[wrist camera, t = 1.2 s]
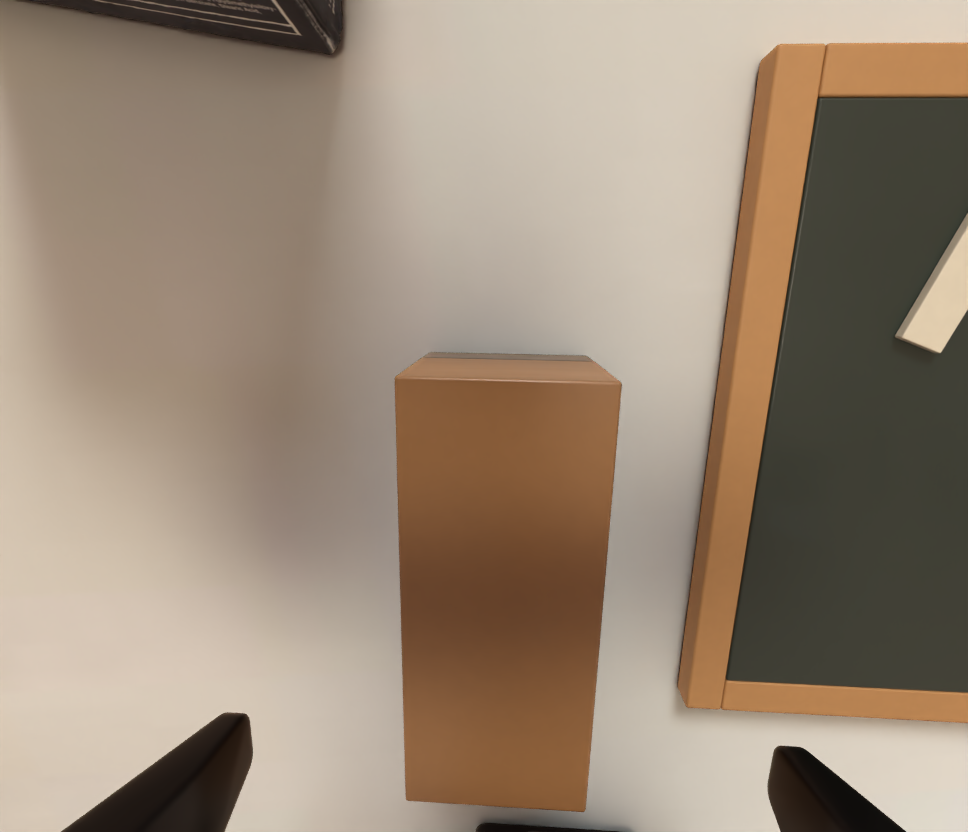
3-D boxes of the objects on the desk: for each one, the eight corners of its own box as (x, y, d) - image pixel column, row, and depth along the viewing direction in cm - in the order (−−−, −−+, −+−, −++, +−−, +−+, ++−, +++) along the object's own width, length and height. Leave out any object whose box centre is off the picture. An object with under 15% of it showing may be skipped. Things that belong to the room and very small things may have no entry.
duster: (566, 680, 18) (586, 813, 14) (431, 673, 18) (405, 801, 14) (588, 355, 15) (622, 381, 11) (428, 351, 16) (393, 376, 11)
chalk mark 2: (931, 352, 14) (941, 353, 14) (893, 336, 14) (901, 337, 13) (1019, 209, 13) (1031, 207, 13) (979, 192, 13) (990, 189, 13)
